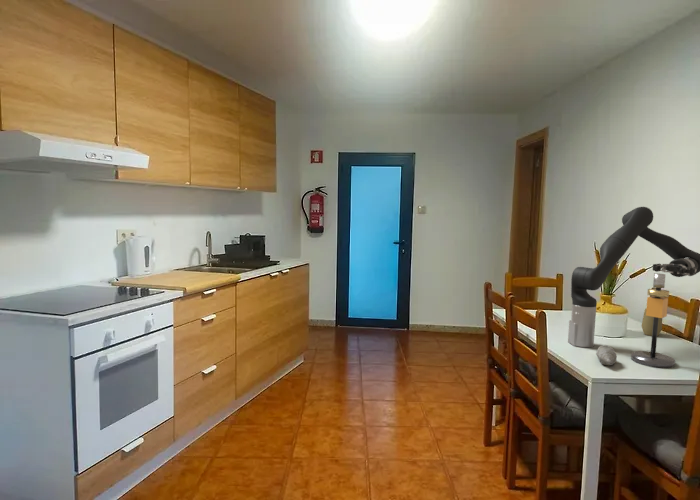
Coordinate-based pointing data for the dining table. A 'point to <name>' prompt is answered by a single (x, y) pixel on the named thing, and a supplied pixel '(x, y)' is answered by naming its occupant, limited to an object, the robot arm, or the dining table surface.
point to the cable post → (655, 333)
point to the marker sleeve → (657, 307)
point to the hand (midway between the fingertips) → (668, 270)
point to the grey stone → (606, 355)
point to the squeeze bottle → (650, 325)
